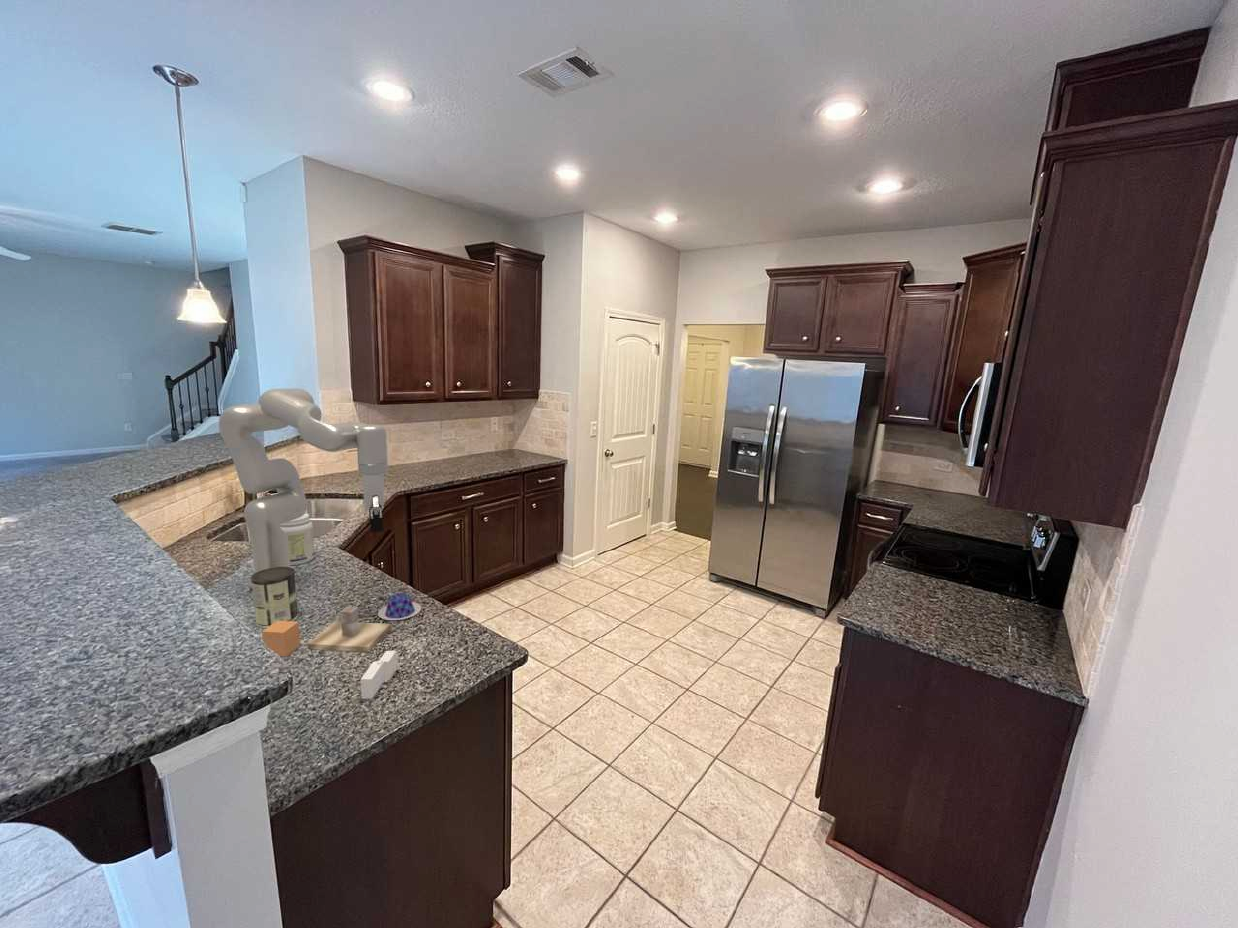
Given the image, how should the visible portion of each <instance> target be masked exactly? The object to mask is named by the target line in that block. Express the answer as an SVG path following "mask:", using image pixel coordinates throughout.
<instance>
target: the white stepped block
mask: <svg viewBox="0 0 1238 928" xmlns="http://www.w3.org/2000/svg"><path fill="white" fill-rule="evenodd" d="M397 663H398V662H397V650H385V652H384V653H383V655H382V657H381V658H380V659H379V660H378V661H373V662H372V663H371V665H370V666H369V667H368V669H367V670H366V671H365V673H364V674H363V676H362V677H361V678H360V691H361V700H373V699H374V697H376V694H377V693H378V692H379V690H380V688H381V687H382V685H383V683H388V681H390V680H391V679H392V677H393V676H394V674H395V673H396V672H397V670H398V666H397V665H398V664H397Z"/></svg>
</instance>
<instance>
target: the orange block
mask: <svg viewBox="0 0 1238 928" xmlns="http://www.w3.org/2000/svg"><path fill="white" fill-rule="evenodd" d="M261 636H262V637H261V638H262V643H263V642H264V643H265V644H266V646H267V647H268V648H270V649H272V650H273V651H274V652H276V653H277V654H279V656H278V657H284V658H287V657H288V656H289V655H291V653H293V652H294V651H295V650H296V649H297V648H298V647H300V646H301V636H300V626H299V621H295V620H294V621H276V622H275V623H273V624H272V625H270V626H269V627H268V628H264V629H263V630H262V631H261Z"/></svg>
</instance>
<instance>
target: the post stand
mask: <svg viewBox="0 0 1238 928" xmlns="http://www.w3.org/2000/svg"><path fill="white" fill-rule="evenodd" d="M359 621H360V619H359V607H358V606H346V607H345V608H344V609H343V610H341V611H340V620H338V621H337V620H335V621H333V622H332V623H330V624H329V626H327V627H326V628H324V629H323V630H322V631H321V632H320V633H318V634H317V635H316V636H315V637H314V638H313V639H311V640H310V641H309V642H308V643H307V649H308V650H316V651H317V650H319V651H320V650H321V651H333V652H334V651H335V652H336V651H337V652H352V653H353V652H354V653H356V652H359V653H370V652H371V651H372V650H373V648H375V647H376V646H377V645H378V643H379V642H380V641H381V640H382V639H383V638H384V637H385V636H386V634H388V633H389V631H390V630H391V629H392V626H391V625H392V624H391V623H380V622H379V623H378V622H359Z"/></svg>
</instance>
